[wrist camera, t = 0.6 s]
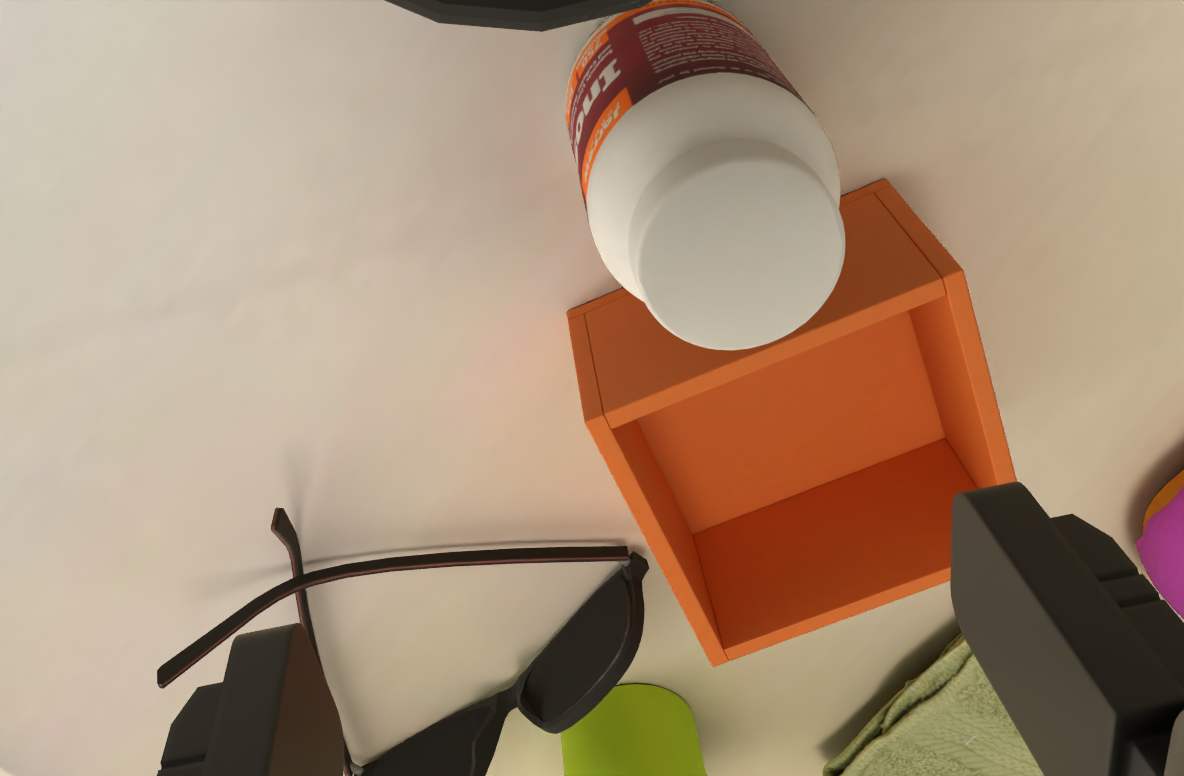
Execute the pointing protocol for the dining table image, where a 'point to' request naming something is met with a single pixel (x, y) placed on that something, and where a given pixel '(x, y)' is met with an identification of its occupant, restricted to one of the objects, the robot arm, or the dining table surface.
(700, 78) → the pill bottle
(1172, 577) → the donut
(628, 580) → the sunglasses
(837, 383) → the bin
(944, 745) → the washcloth
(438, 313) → the dining table surface
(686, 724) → the soap dispenser
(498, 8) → the coffee cup
